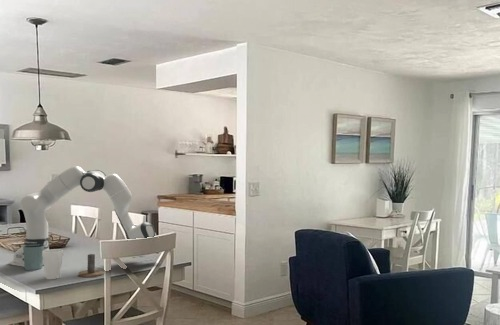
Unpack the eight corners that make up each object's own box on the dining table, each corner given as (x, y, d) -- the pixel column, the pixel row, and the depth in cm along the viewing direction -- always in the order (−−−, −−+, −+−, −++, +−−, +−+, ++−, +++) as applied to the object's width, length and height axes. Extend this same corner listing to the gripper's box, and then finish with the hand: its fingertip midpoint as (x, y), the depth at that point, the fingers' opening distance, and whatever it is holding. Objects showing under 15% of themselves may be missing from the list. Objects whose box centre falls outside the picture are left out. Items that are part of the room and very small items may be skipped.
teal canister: (19, 270, 250) (19, 247, 249) (30, 266, 260) (30, 243, 260) (37, 271, 248) (37, 247, 248) (48, 266, 258) (48, 244, 258)
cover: (73, 276, 238) (73, 256, 238) (88, 270, 249) (88, 251, 249) (93, 278, 234) (93, 258, 234) (108, 272, 246) (108, 253, 245)
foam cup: (46, 275, 239) (46, 249, 239) (65, 275, 240) (65, 248, 240) (39, 280, 230) (39, 252, 230) (59, 280, 230) (59, 252, 230)
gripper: (124, 241, 268) (102, 244, 258) (146, 245, 255) (124, 249, 244) (124, 252, 268) (102, 256, 258) (146, 257, 255) (124, 261, 244)
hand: (113, 252), depth 251 cm, fingers open, 8 cm apart
